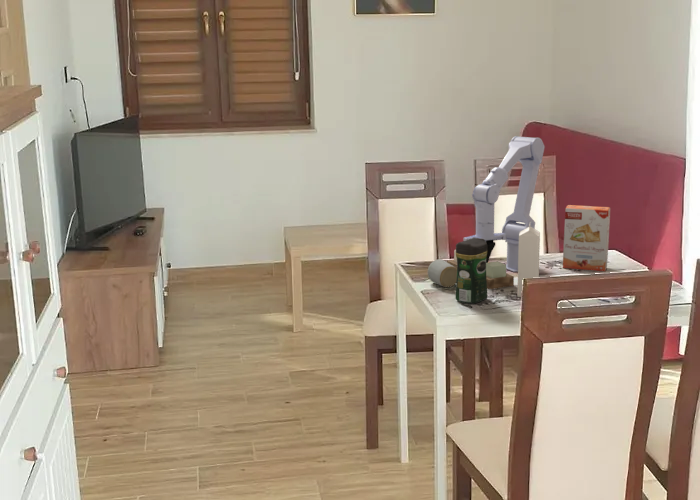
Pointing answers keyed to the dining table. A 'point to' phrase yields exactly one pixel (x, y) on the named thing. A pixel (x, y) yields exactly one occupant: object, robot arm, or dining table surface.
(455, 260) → the key ivory
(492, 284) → the keypad frame
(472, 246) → the coffee jar
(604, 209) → the cracker box
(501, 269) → the key sage
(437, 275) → the ceramic mug
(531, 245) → the milk
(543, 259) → the dining table surface
